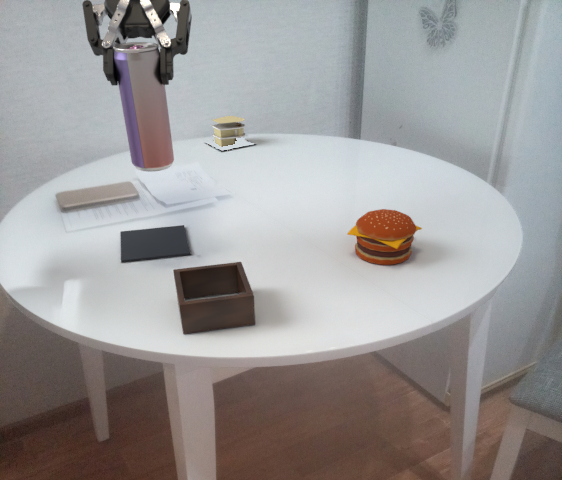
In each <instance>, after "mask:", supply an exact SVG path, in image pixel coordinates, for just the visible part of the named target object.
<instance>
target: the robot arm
mask: <svg viewBox="0 0 562 480" xmlns="http://www.w3.org/2000/svg"><path fill="white" fill-rule="evenodd" d="M82 11H83V12H82V13H83V18H84V24H85V31H86V38H87V42H88V44H89V46H90V48H91V50H92V51H91V52H92V53H93V54H94V55H95V56H96V57H99V56H102V71H103V74H104V76H105V78H106V81H107V82H110V85H111V86H112V87H113V86H119V85H118V79H117V73H116V67H115V62H114V51H115V50H114V46H115V45H118V44H122V43H128V40H129V39H137V38H144V39H153V38H154V41H155V42H156V44H158V46H159V48H160V49H159V51H160V73H161V79H162V83H163V85H165V86H167V85H169V84H170V81H173V79H174V77H175V76H174V58H175V57H176V56H177V55H182V56H184V55H187V54H188V51H189V43H190V35H191V27H192V19H193V16H192V10H191V5H190V1H189V0H180V2H179V3H175V2H171V1H170V0H104V2H103V3H98V4H93V3H92V1H91V0H84V1H82ZM171 15H172V16H173V18H174V21H175V23H177V24H176V33H175V37H173V38H170V36H169V35H168V33H167V31H166V30H165V27H164V25H165V24H166V23H167V21H168V20H169V19H170V17H171ZM106 16H107V17H108V19H110V21H109V23H108V25H107V32H106V34H105V36H104V38H101V33H100V27H101V26H102V24H103V22H104V18H105V17H106Z"/></svg>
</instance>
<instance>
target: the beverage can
mask: <svg viewBox="0 0 562 480" xmlns="http://www.w3.org/2000/svg"><path fill="white" fill-rule="evenodd" d="M159 48H160V47H159V46H158V44H157V42H156V43H155V42H151V41H133V42H126V43H122V44H118V45H115V46H114V50H115V51H114V62H115V67H116V73H117V79H118V85H117V86H118V91H119V96H120V101H121V106H122V107H121V108H122V113H123V118H124V119H123V120H124V124H125V125H124V126H125V130H126V137H127V142H128V148H129V153H130V154H129V155H130V160H131V164H132V165H133V166H134V168H135V169H137V170H139V171H142V172H148V173H149V172H151V173H152V172H161V171H165V170H168V169H170V168H171V167H172V165H173V164H174V161H175V156H174V155H175V154H174V147H173V139H172V138H173V137H172V131H171V124H170V115H169V107H168V98H167V91H166V90H167V89H166V85H163V83H162V79H161V73H160V49H159Z"/></svg>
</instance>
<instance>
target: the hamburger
mask: <svg viewBox="0 0 562 480" xmlns="http://www.w3.org/2000/svg"><path fill="white" fill-rule="evenodd" d="M420 230H423V227H421V226H419V225H416V223H415V222H414V221H413V218H411V216H409V215H408V214H406V213H404V212H401V211H398V210H396V209H386V208H381V209H375V210H369V211H367V212H366V213H364V214H362V216H361V217H359V218H358V219H357V220H356V222H355V225H354V226H353V227H351V228H350V230H349V231H348V232H347V234H346V235H348V236H353V237H354V236H355V237H356V243H355V245H354V251H355V254H356V256H358V258H360V259H361V260H362V261H365V262H367V263H370V264H375V265H381V266H382V265H383V266H384V265H385V266H387V265H388V266H390V265H396V264H402V263H403V262H405V261H408V260H409V258H410V256H411V255H412V253H413V250H412V243H413V242H414V238H415V237H414V235H415V234H416V233H417V232H418V231H420Z"/></svg>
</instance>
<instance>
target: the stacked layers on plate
mask: <svg viewBox="0 0 562 480" xmlns="http://www.w3.org/2000/svg"><path fill="white" fill-rule="evenodd" d="M212 121H213V122H215V123H217V124H211V127H212V128H213V134H212V136H213V137H214V140H215V143H216V144H218V145H219V146H221V147H223V146H228V145H233V144H235V141H237V140H236V138H241V137H243V138H245V137H246V133H245V127H246V124H245V123H242V122H244V121H245V118H243V117H239V116H235V115H226V116H221V117H218V118H213V119H212ZM228 150H229V149H228ZM228 150H227V151H228ZM233 150H235V149H232V150H231V151H233ZM227 151H226V152H227ZM229 151H230V150H229ZM219 152H220V153H222V152H221V151H219Z"/></svg>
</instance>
